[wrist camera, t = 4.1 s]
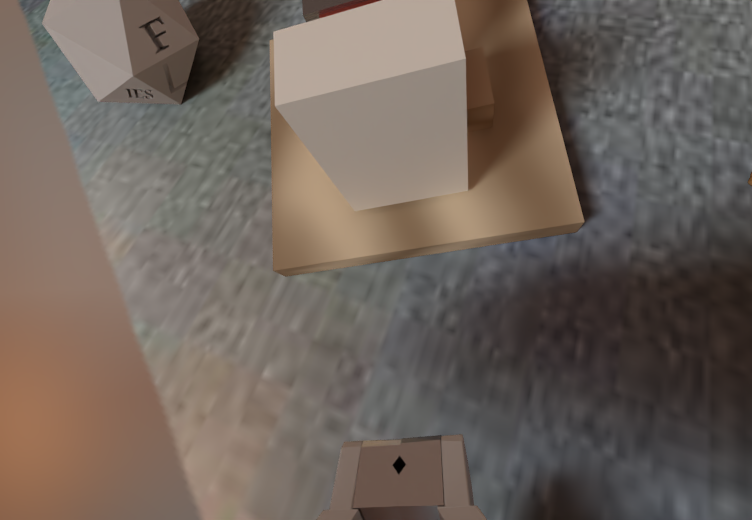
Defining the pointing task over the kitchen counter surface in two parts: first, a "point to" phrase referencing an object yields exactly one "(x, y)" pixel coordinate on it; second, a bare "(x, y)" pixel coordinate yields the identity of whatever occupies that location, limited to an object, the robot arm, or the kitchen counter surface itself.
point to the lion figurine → (750, 180)
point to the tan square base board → (485, 166)
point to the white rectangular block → (379, 99)
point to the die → (126, 47)
